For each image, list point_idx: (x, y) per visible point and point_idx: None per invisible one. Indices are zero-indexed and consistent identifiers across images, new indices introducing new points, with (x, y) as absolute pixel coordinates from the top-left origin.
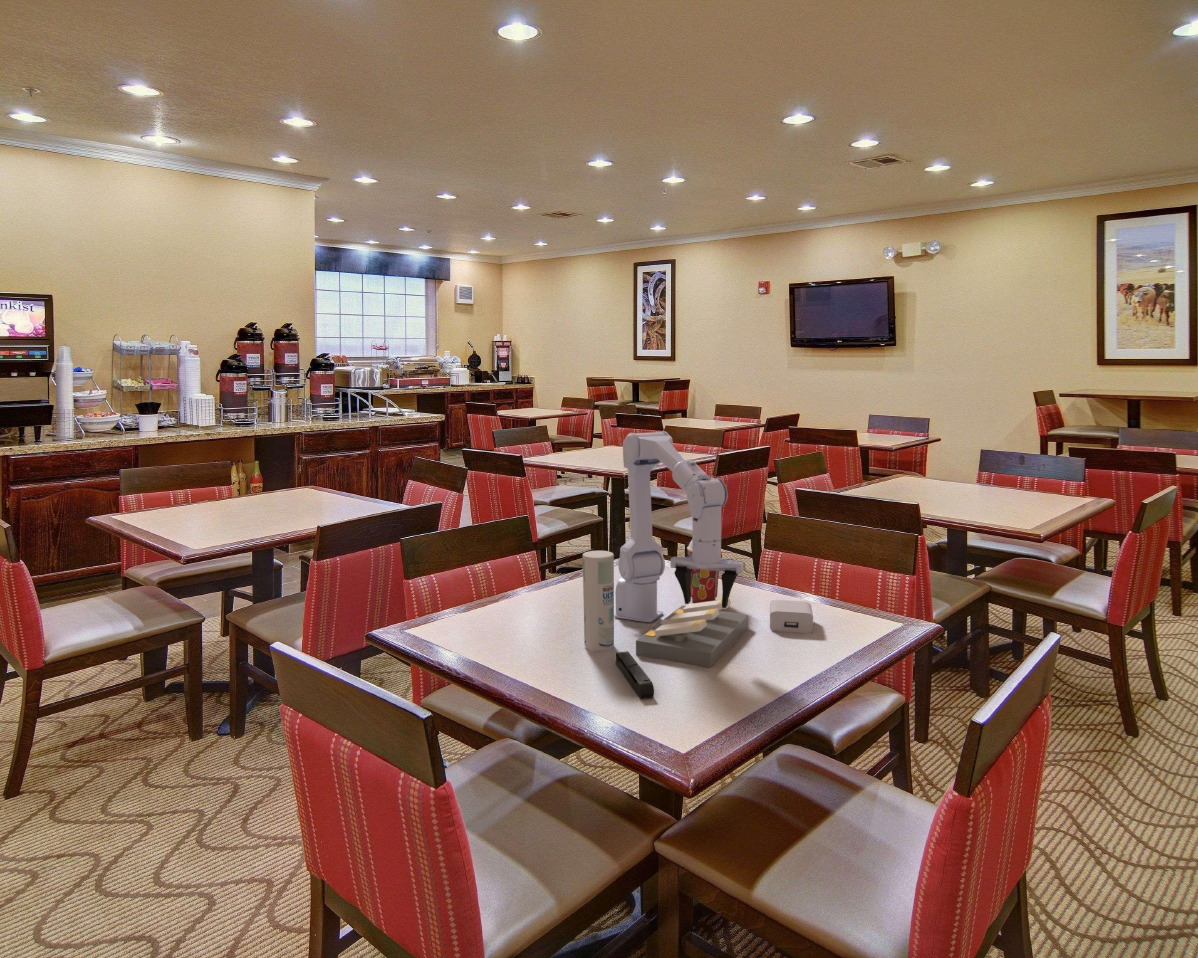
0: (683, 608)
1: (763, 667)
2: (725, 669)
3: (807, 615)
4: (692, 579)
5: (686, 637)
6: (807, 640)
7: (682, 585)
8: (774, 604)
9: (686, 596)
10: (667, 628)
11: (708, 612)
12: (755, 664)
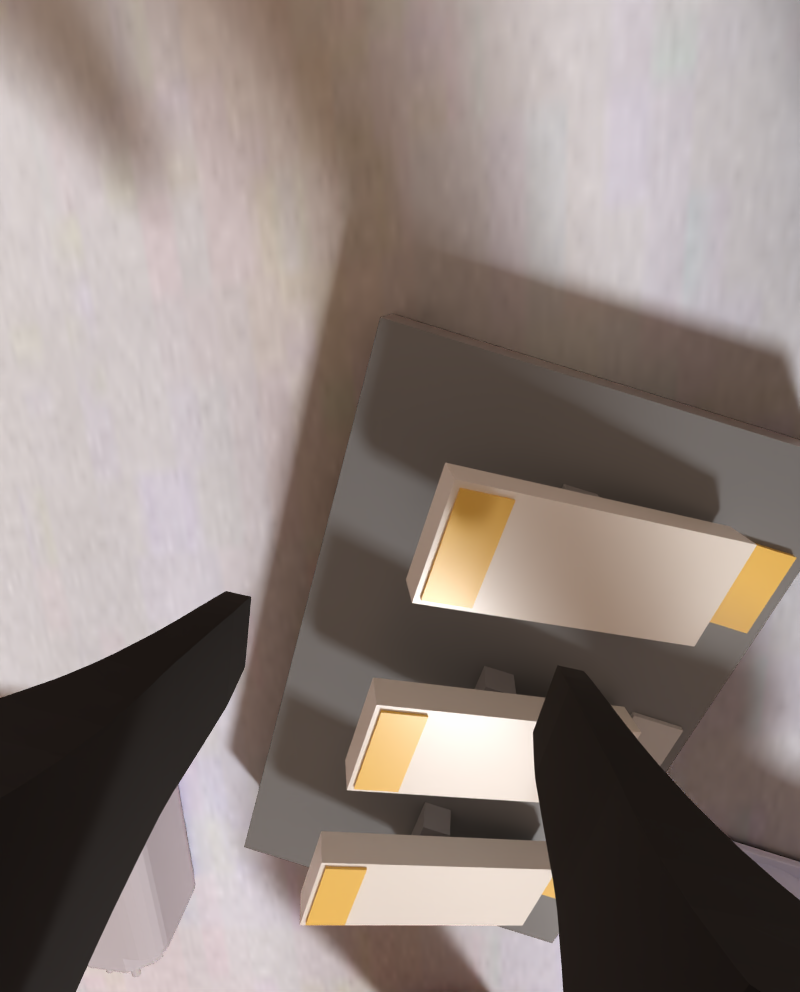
0: (551, 876)
1: (140, 362)
2: (314, 302)
3: None
4: None
5: None
6: (28, 684)
7: (686, 818)
8: (134, 918)
9: (591, 709)
10: (674, 541)
11: (402, 737)
12: (181, 396)
